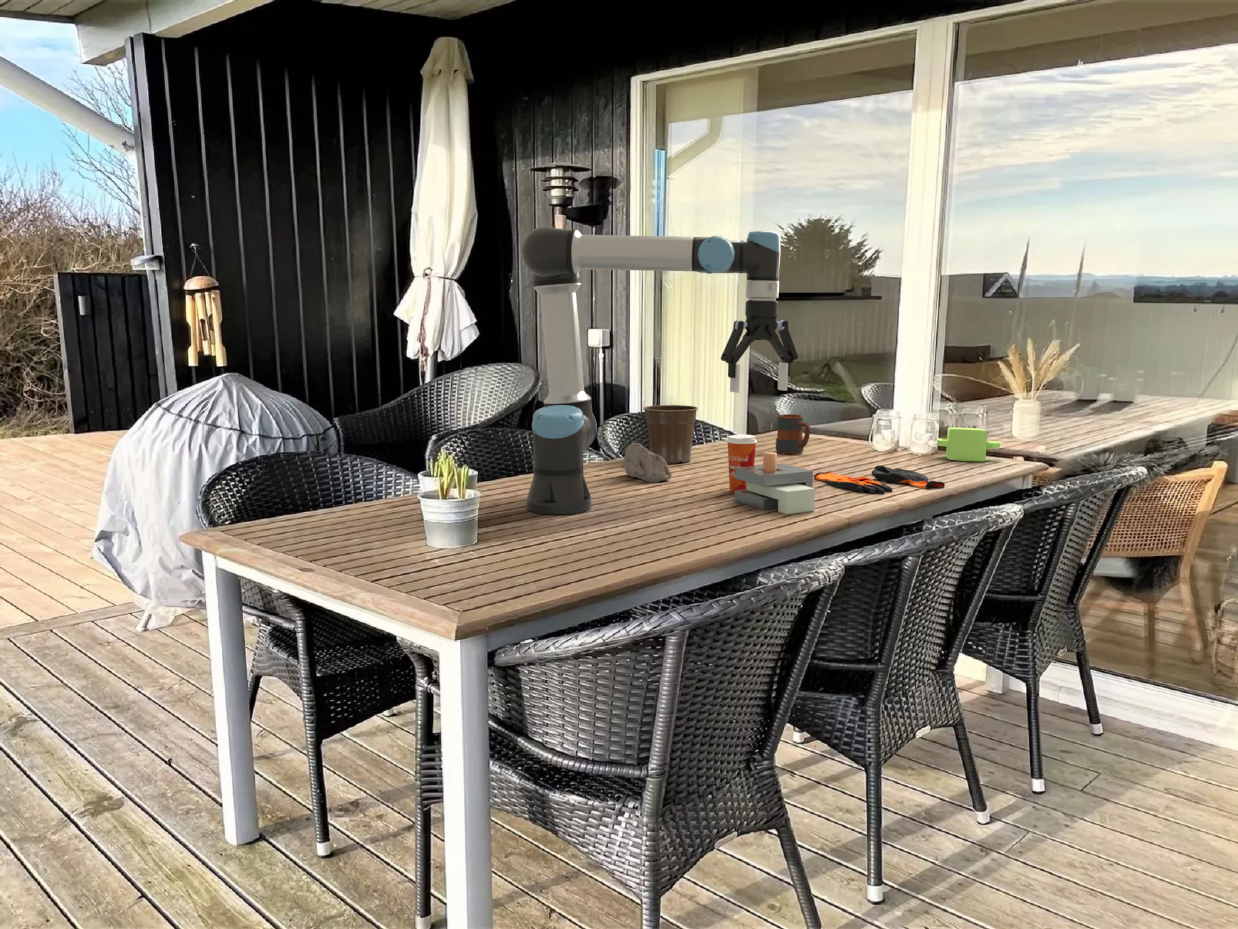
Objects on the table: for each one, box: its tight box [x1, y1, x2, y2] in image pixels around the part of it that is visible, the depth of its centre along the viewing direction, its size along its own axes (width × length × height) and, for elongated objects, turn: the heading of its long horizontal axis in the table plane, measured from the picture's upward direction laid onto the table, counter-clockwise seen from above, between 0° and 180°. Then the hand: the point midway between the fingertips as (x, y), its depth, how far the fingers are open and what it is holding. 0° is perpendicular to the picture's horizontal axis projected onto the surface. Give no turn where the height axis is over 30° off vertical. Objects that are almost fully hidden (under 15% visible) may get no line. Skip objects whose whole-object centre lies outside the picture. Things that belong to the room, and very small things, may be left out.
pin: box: [762, 451, 778, 472], centre depth 235 cm, size 3×3×12 cm
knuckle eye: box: [746, 482, 816, 515], centre depth 232 cm, size 8×16×5 cm, turn 27°
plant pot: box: [643, 404, 699, 465], centre depth 294 cm, size 16×16×16 cm
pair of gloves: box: [813, 464, 945, 495], centre depth 260 cm, size 27×24×3 cm
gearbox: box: [936, 427, 1001, 462], centre depth 297 cm, size 18×10×10 cm, turn 76°
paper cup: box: [725, 434, 758, 494], centre depth 249 cm, size 8×8×14 cm
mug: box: [775, 413, 811, 456], centre depth 308 cm, size 9×12×12 cm
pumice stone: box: [623, 442, 673, 483], centre depth 266 cm, size 15×8×10 cm, turn 37°
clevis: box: [733, 463, 814, 511], centre depth 236 cm, size 14×12×8 cm
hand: (758, 391), depth 232 cm, fingers open, 13 cm apart
